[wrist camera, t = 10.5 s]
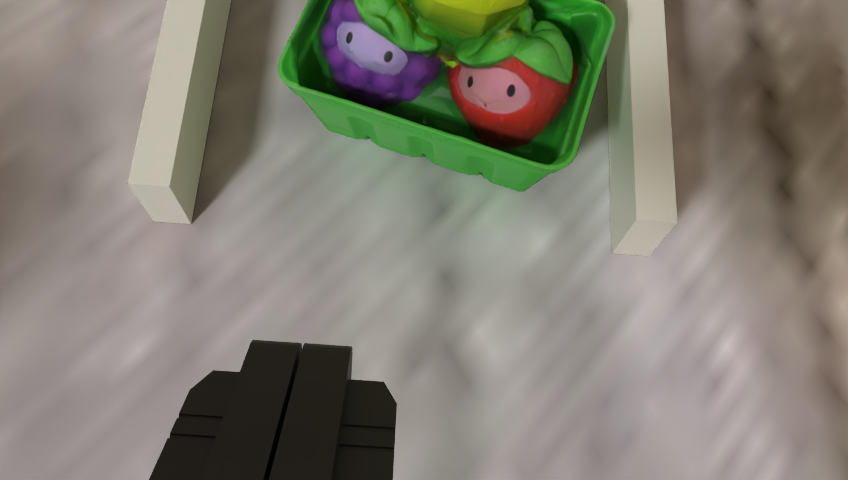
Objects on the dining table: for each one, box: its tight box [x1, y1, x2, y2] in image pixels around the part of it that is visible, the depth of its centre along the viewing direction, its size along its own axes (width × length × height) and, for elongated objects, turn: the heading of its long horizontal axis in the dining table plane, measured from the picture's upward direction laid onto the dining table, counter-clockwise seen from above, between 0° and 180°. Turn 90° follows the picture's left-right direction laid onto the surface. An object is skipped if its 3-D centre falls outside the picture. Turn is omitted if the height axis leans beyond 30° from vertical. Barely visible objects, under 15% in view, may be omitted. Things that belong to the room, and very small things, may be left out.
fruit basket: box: [278, 0, 616, 191], centre depth 30 cm, size 11×9×11 cm
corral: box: [128, 0, 677, 256], centre depth 34 cm, size 16×20×4 cm
